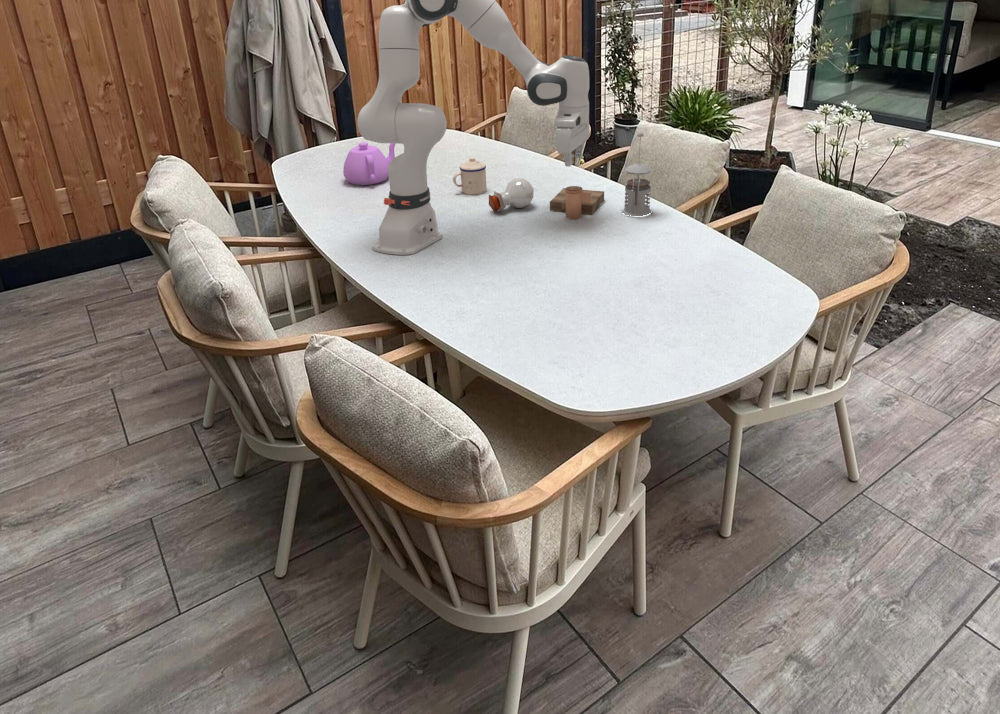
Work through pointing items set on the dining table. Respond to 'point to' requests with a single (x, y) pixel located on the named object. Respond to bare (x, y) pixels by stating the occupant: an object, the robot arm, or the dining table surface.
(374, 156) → the teapot
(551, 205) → the holder
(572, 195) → the copper mug
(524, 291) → the dining table surface
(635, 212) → the french press
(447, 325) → the dining table surface
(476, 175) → the teacup with lid
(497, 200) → the potion bottle
